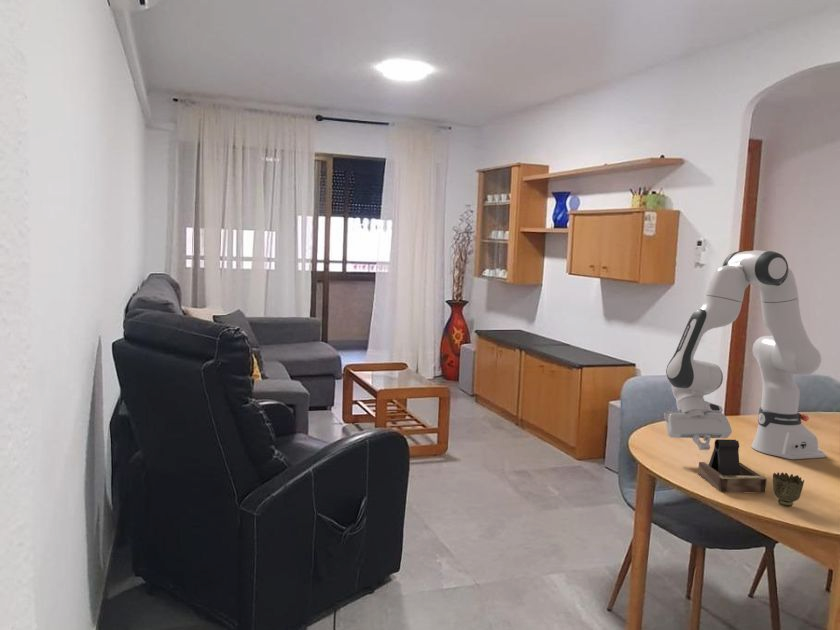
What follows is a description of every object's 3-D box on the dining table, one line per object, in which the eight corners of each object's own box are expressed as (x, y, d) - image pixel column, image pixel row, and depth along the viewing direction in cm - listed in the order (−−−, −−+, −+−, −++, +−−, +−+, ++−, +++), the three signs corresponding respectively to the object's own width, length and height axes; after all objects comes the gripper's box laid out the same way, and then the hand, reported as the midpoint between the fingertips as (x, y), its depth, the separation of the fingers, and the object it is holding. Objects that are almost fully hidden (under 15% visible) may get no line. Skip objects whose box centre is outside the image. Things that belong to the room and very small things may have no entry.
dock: (739, 475, 201) (740, 461, 200) (765, 492, 187) (766, 477, 187) (697, 474, 200) (699, 460, 199) (721, 492, 186) (722, 477, 186)
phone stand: (741, 484, 193) (745, 445, 192) (721, 484, 193) (725, 444, 191) (725, 473, 202) (728, 435, 200) (706, 473, 202) (709, 435, 200)
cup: (805, 512, 175) (808, 483, 174) (775, 509, 176) (778, 480, 175) (795, 501, 182) (798, 473, 181) (766, 498, 183) (769, 470, 182)
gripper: (665, 405, 214) (677, 444, 206) (726, 406, 216) (740, 445, 207) (658, 414, 219) (669, 453, 210) (718, 416, 220) (730, 454, 212)
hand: (705, 449), depth 209 cm, fingers closed
